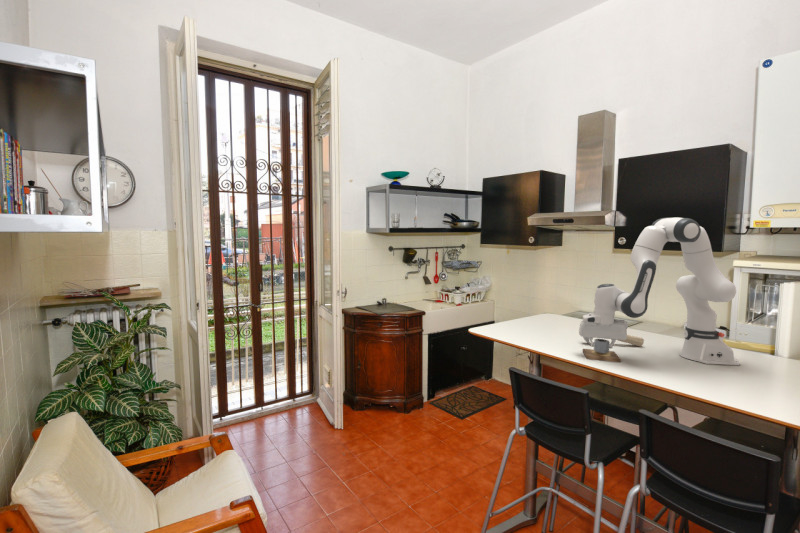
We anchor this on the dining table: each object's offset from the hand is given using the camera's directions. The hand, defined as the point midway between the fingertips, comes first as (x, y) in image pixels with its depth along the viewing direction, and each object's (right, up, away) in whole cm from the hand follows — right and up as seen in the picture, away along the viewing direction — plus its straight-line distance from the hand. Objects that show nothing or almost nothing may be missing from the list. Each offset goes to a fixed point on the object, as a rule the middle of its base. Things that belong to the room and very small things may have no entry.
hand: (601, 347), depth 191 cm
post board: (0, -5, +1) cm, 4 cm away
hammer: (+16, -3, +21) cm, 27 cm away
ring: (0, -2, 0) cm, 2 cm away
